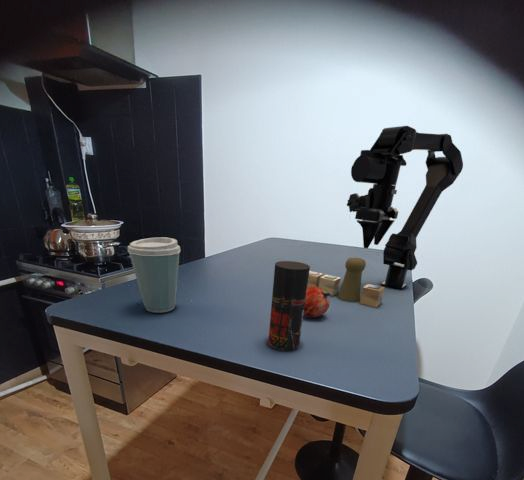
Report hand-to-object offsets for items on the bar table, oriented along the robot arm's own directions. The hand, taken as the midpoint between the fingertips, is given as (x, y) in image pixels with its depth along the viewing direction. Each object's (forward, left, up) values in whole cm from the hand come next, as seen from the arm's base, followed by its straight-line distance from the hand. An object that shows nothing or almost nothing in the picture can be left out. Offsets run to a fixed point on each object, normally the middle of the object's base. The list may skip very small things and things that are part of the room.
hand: (371, 246), depth 90 cm
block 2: (+10, -7, -13) cm, 18 cm away
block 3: (+10, +6, -13) cm, 17 cm away
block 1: (+10, -12, -13) cm, 20 cm away
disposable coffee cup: (+51, -30, -13) cm, 61 cm away
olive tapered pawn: (+10, 0, -13) cm, 17 cm away
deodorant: (+47, +1, -13) cm, 49 cm away
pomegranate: (+30, -2, -13) cm, 33 cm away
